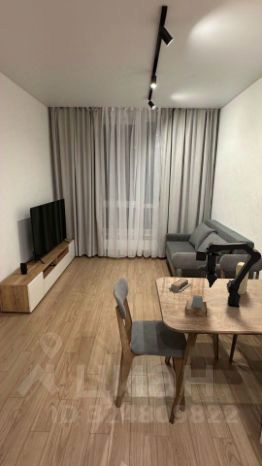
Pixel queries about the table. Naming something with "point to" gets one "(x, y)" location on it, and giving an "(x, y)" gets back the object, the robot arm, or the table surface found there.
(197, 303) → the slate cube
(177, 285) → the packaged product
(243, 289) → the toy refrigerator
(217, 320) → the table surface
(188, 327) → the table surface
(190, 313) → the walnut block
